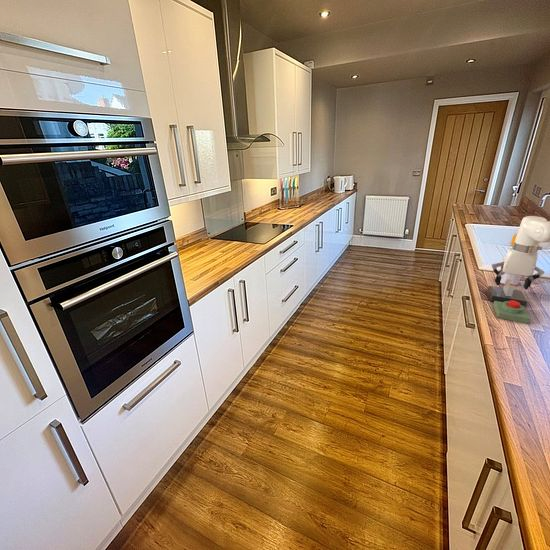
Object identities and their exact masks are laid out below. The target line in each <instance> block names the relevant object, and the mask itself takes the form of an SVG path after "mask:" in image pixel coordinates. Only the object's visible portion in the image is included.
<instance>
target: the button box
mask: <svg viewBox="0 0 550 550" xmlns="http://www.w3.org/2000/svg"><path fill="white" fill-rule="evenodd" d="M508 302H509V301H505V302H498V301H494V302H493V304H492V307H493V310H494V312H495V315H496V318H498V319H503V320H507V321H508V320H509V321H514V322H519V323H525V324H530V322H531V320H532V317H531V316H530V314H529V312H528V310H527V309H526V306H525V307H524V306H522V305H520V306H519V308H512V307H510V306H508Z"/></svg>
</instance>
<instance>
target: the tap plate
mask: <svg viewBox="0 0 550 550" xmlns="http://www.w3.org/2000/svg"><path fill="white" fill-rule="evenodd" d="M503 288H504V287H501V286H494V285H488V286H487V289H486V294H487V296H488V299H489V302H491V303H494V301H498V302H505V301H510V300H514V301H517V302H519V303H520V305H522V306H524V307H525V308H526V306H527V305H528V299H527V298H526V296H525V295H524V293H523V291H522V290H521V289H520V290H519V289H514V291H513V294H512V296H506V295H505V293H504V291H503Z"/></svg>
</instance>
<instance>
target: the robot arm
mask: <svg viewBox="0 0 550 550" xmlns="http://www.w3.org/2000/svg"><path fill="white" fill-rule="evenodd" d="M516 234H517V236H516V239H515V242H514V244H513V247H512V246H511V247H510V248H508V250H507V252H506V253H505V255H504V258H503V259H504V260H503V262H501V261H500V262H496V263H492V264H491V268H492V271H493V273H494V274H495V277H496V278H494V283H495V284H496V286H500V284H501V283H500V281H501V278H502V277H501V276H502V275H503V274H505V273H507V274H514V275H521V277H522V276H523V277H526V278H525V281H524V283H523V285H522V287H523V288H524V290H528V289H529V288H530V287H531V285H532V282H534V281H535V280H537V279H539V278H540V277H541V276H543V275H544V274H545V271H544V270H543V269H541V268H540V267H538V266H537V262H538V251H543V246H540V243H550V220H549V221H548V219H547V218H545V217H543V216H536V215H527V216H524V217H523V218H522V220H521V221H520V225H519V227H518V230H517V232H516ZM499 266H501V270H499V271H498V268H499ZM534 272H537V273H535V274H534Z"/></svg>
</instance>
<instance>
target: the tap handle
mask: <svg viewBox="0 0 550 550" xmlns="http://www.w3.org/2000/svg"><path fill="white" fill-rule="evenodd" d="M503 285H504V286H503V287H502V288H503V291H504V293H505V295H506V296H512V294H513V291H514V290H516V289H515V288H516V285H515V284H514V282H513V281H512V280H508V279H507V280H506V283H505V284H503Z"/></svg>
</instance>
